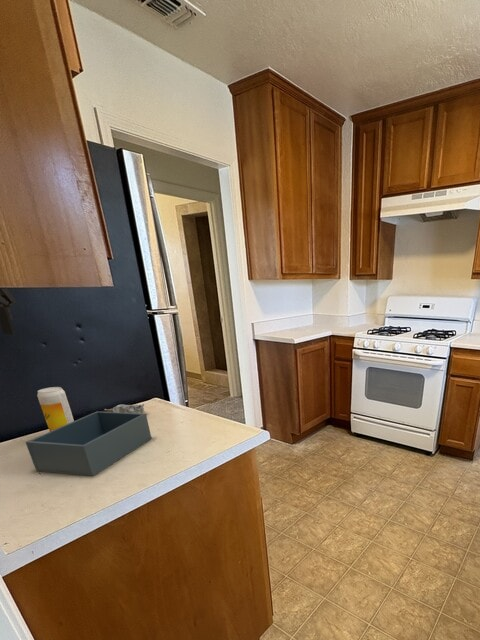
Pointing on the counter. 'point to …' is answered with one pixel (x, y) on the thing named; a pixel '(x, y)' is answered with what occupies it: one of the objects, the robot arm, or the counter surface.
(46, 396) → the beer can
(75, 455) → the tub
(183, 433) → the counter surface
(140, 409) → the egg carton
